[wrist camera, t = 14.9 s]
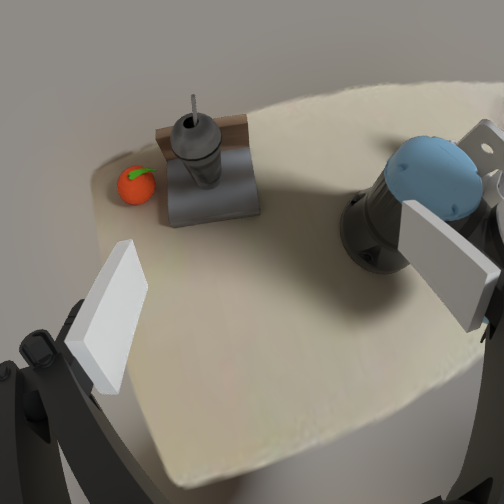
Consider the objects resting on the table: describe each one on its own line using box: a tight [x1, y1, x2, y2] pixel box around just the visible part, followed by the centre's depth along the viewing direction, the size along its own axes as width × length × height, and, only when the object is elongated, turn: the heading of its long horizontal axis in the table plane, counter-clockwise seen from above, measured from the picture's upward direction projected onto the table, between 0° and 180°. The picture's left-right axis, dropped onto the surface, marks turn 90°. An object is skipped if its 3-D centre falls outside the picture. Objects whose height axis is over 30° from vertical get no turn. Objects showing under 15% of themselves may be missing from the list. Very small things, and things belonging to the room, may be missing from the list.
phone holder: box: [450, 119, 504, 208], centre depth 46 cm, size 17×10×18 cm, turn 49°
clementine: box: [117, 166, 156, 205], centre depth 51 cm, size 8×7×7 cm
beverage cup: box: [170, 94, 222, 190], centre depth 42 cm, size 7×7×20 cm
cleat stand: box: [156, 114, 260, 228], centre depth 50 cm, size 14×15×10 cm
